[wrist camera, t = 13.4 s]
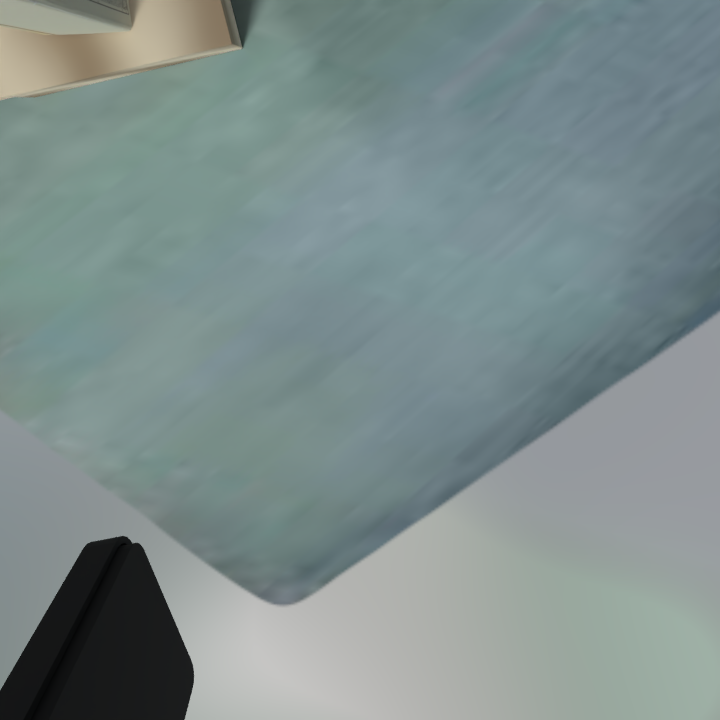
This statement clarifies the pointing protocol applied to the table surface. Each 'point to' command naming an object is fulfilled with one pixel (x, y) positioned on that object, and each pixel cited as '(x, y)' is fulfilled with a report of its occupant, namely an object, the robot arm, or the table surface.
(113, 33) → the birch trinket box
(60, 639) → the robot arm
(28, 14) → the skincare box
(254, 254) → the table surface
